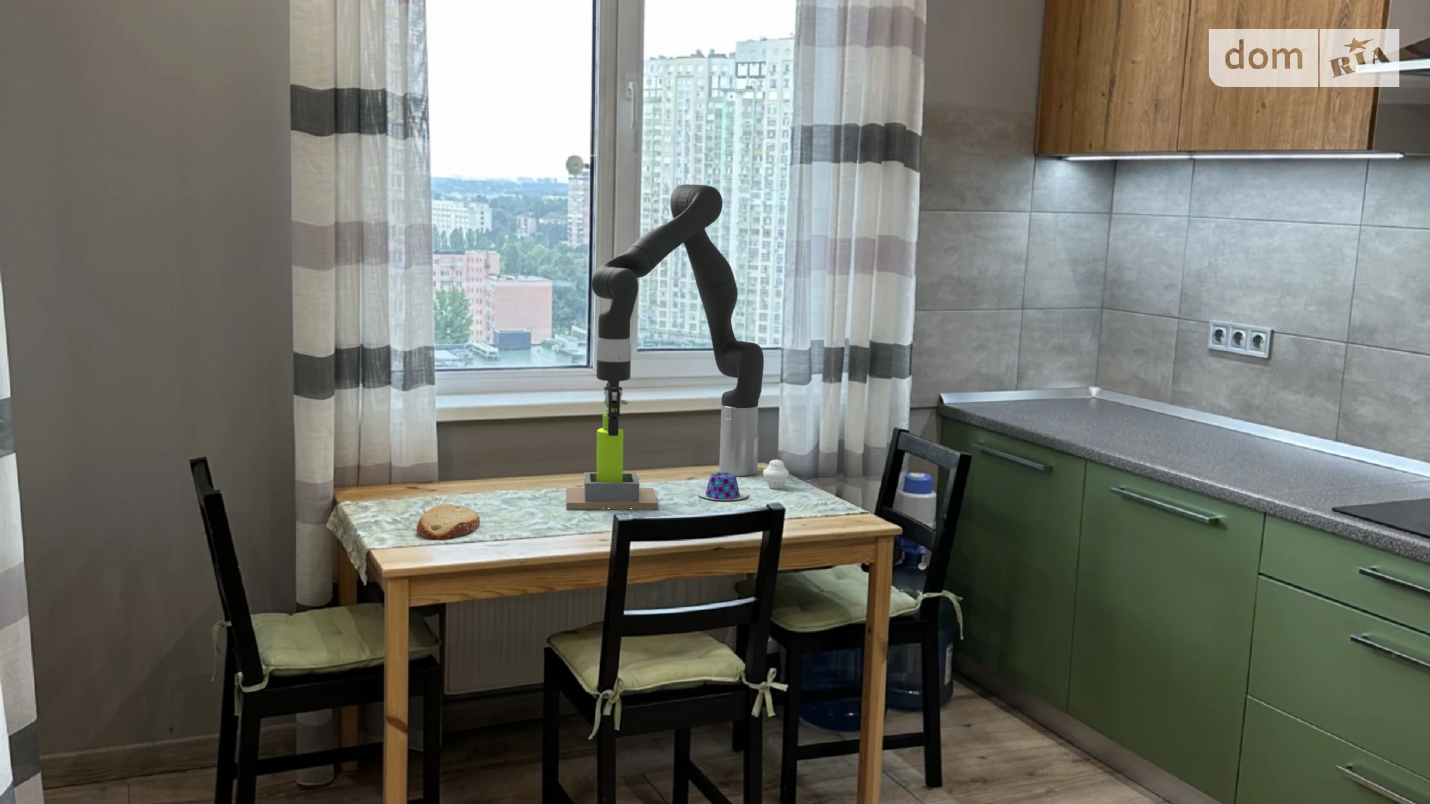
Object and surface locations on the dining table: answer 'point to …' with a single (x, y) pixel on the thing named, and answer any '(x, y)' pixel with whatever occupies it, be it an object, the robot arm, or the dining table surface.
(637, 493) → the soap caddy
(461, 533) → the bread slice
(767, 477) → the white lidded jar
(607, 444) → the soap dispenser
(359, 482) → the dining table surface
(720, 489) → the pudding
